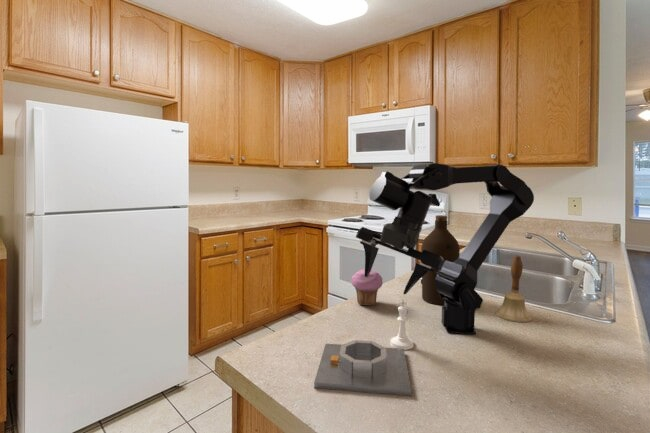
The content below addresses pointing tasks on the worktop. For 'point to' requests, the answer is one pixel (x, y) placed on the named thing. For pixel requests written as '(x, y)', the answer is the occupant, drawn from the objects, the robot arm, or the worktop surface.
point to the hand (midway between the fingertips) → (384, 285)
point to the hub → (363, 368)
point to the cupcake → (366, 286)
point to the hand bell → (514, 297)
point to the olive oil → (441, 245)
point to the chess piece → (402, 330)
